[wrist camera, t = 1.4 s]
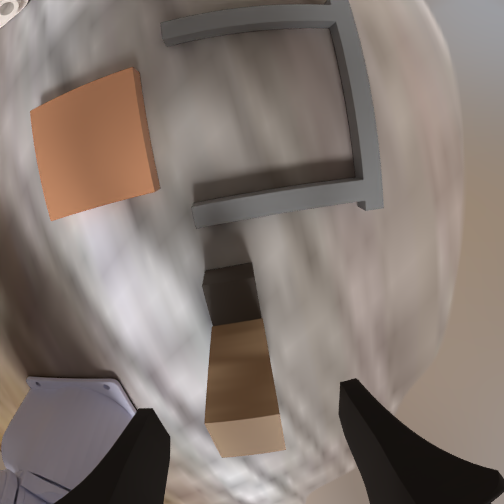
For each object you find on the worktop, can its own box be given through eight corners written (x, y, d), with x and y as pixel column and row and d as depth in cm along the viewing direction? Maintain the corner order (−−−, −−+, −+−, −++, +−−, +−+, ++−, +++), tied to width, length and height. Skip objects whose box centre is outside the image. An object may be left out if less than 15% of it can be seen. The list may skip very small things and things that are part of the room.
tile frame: (200, 233, 14) (198, 239, 13) (163, 22, 11) (159, 15, 10) (374, 204, 14) (383, 208, 13) (341, 6, 11) (347, -2, 10)
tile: (65, 213, 14) (51, 221, 12) (46, 112, 12) (30, 111, 10) (162, 187, 14) (154, 192, 12) (142, 74, 12) (132, 66, 10)
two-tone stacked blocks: (231, 370, 17) (233, 479, 10) (204, 270, 15) (184, 378, 8) (270, 364, 18) (289, 472, 10) (252, 262, 15) (271, 366, 8)
